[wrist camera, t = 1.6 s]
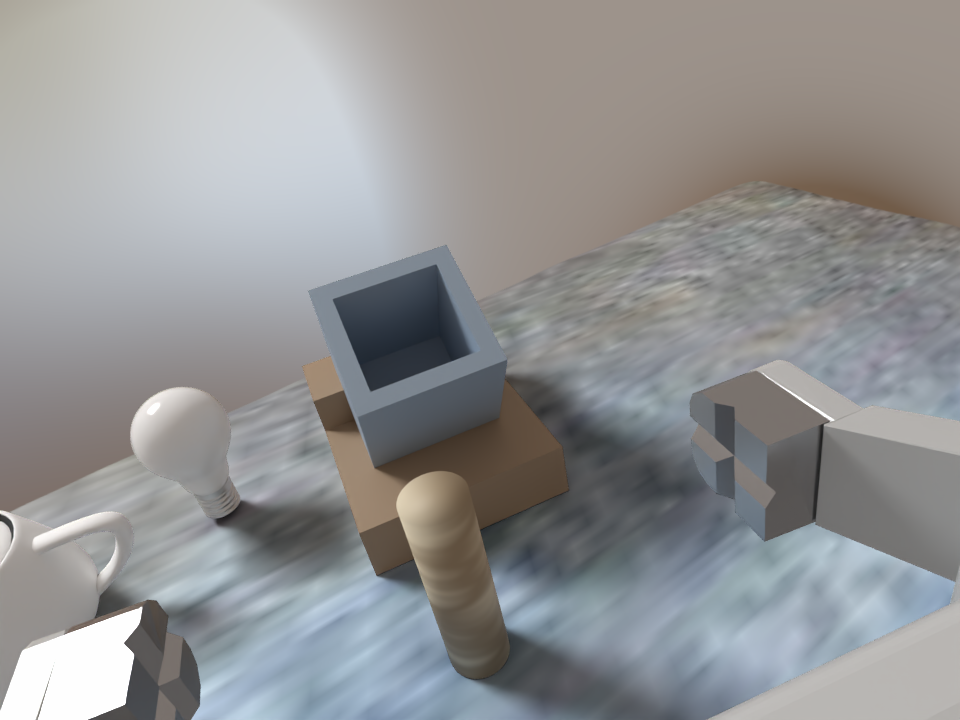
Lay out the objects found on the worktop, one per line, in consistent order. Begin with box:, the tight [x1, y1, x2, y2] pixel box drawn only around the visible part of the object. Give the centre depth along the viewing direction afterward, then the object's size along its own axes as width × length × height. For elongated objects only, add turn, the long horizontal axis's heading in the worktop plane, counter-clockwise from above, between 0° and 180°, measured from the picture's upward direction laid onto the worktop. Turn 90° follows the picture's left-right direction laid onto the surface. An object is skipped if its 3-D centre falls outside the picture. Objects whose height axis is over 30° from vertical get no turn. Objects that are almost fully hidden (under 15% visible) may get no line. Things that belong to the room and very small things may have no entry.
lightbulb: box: [130, 387, 240, 519], centre depth 47 cm, size 6×6×11 cm
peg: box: [396, 471, 510, 679], centre depth 33 cm, size 3×3×12 cm
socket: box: [302, 245, 569, 575], centre depth 46 cm, size 14×17×16 cm
